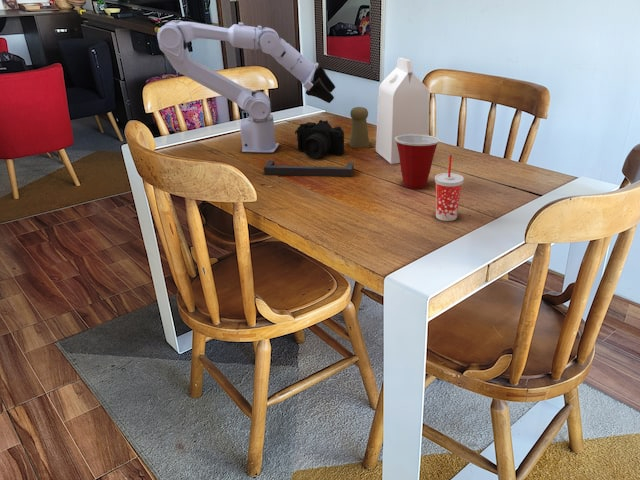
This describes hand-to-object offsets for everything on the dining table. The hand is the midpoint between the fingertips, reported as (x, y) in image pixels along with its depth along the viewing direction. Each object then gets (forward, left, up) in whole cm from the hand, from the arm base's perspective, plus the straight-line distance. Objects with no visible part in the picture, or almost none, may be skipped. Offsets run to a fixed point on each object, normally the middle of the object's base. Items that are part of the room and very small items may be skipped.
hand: (332, 94), depth 164 cm
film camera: (-3, -9, -15) cm, 18 cm away
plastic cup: (+25, -31, -15) cm, 42 cm away
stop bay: (-3, -24, -15) cm, 28 cm away
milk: (+21, -8, -15) cm, 27 cm away
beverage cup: (+32, -50, -15) cm, 61 cm away
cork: (+8, +1, -15) cm, 17 cm away
